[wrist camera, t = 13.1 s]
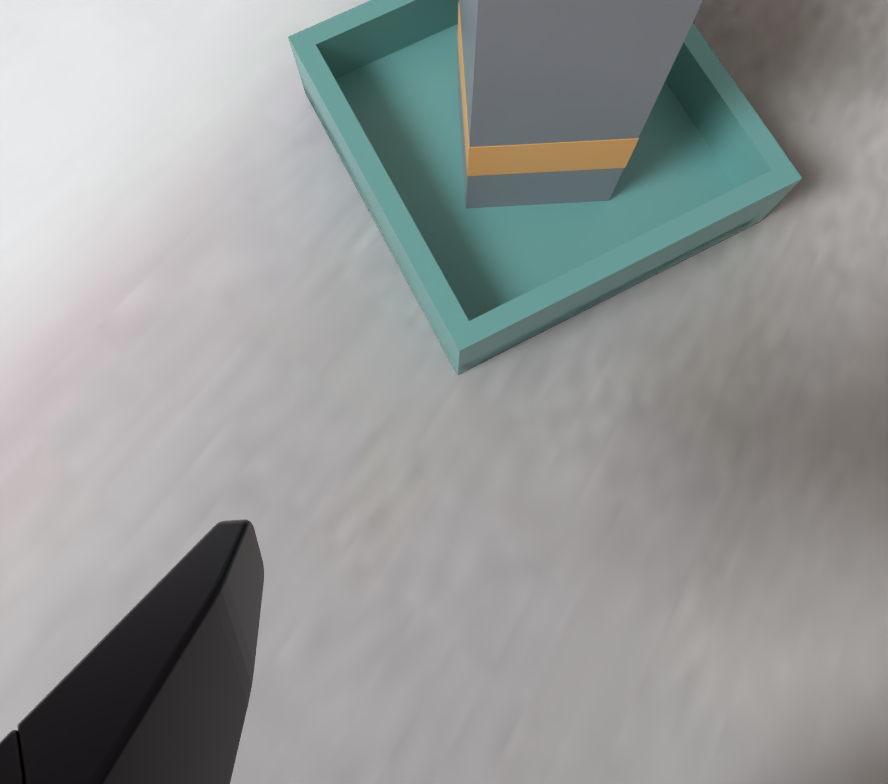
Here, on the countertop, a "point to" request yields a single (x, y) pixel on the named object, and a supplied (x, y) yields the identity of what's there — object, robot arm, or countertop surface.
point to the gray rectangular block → (559, 93)
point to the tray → (528, 226)
